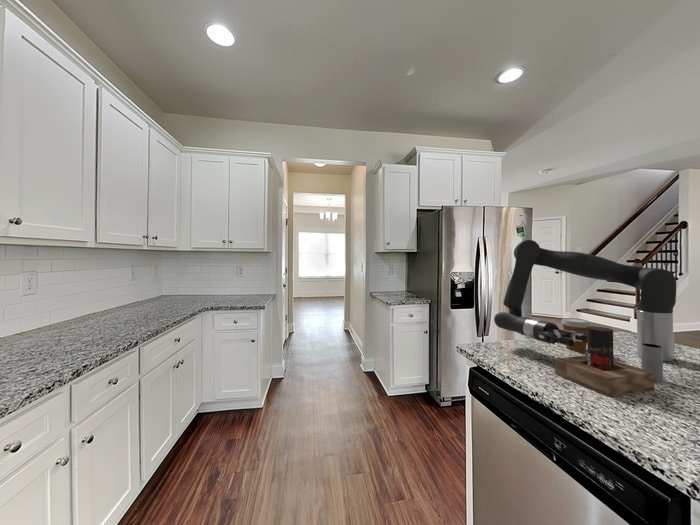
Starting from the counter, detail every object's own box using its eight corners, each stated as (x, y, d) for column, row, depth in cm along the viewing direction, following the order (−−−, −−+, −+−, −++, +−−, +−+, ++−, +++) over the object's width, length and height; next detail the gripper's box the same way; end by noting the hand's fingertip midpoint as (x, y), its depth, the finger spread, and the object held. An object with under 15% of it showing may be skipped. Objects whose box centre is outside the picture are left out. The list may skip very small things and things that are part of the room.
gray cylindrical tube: (667, 382, 86) (667, 347, 85) (649, 381, 86) (649, 347, 86) (654, 376, 90) (654, 343, 90) (637, 375, 91) (637, 342, 91)
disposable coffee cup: (578, 353, 112) (578, 323, 112) (555, 346, 121) (555, 318, 121) (597, 351, 114) (597, 321, 114) (573, 344, 124) (573, 317, 123)
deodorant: (582, 374, 90) (581, 326, 89) (600, 373, 90) (599, 326, 90) (600, 382, 84) (600, 331, 84) (619, 381, 84) (618, 330, 84)
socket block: (594, 369, 96) (594, 354, 96) (654, 390, 80) (653, 372, 80) (555, 373, 93) (554, 358, 93) (608, 396, 77) (608, 378, 77)
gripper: (524, 321, 106) (565, 332, 90) (556, 319, 109) (601, 329, 93) (524, 341, 106) (565, 355, 90) (556, 339, 109) (601, 352, 93)
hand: (584, 342), depth 91 cm, fingers open, 8 cm apart
